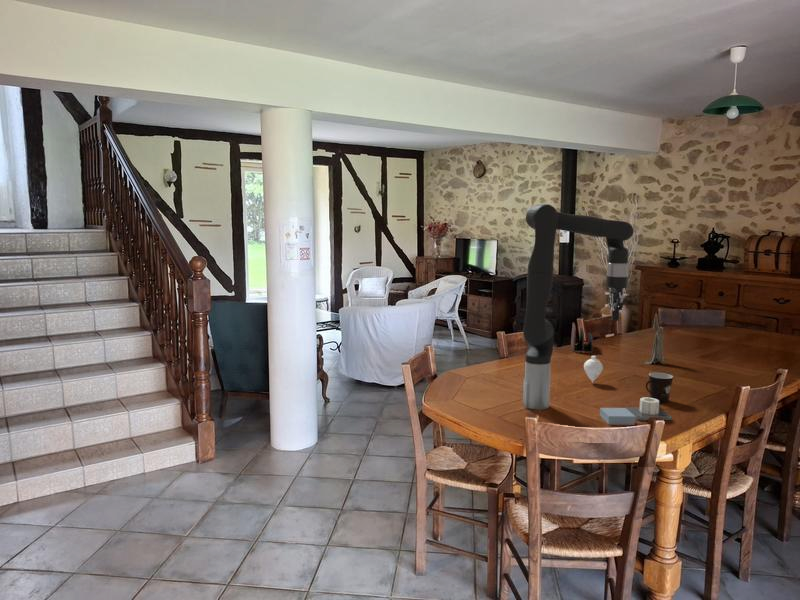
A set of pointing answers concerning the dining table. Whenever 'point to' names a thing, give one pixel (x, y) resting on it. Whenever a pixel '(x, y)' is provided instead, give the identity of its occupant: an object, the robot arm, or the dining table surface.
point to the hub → (645, 417)
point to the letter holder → (581, 341)
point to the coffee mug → (660, 386)
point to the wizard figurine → (657, 344)
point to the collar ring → (649, 406)
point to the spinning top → (593, 368)
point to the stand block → (617, 416)
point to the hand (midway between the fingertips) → (614, 320)
